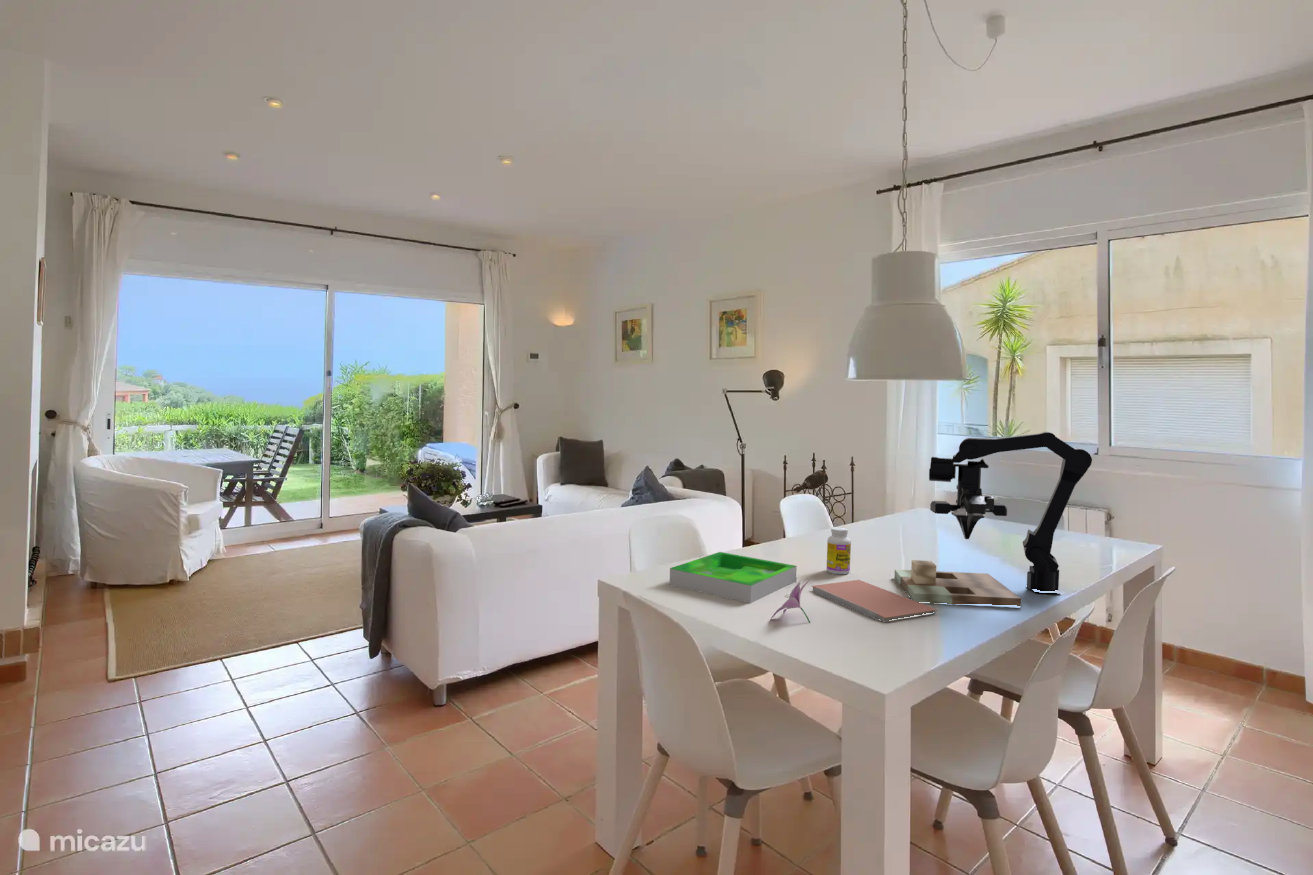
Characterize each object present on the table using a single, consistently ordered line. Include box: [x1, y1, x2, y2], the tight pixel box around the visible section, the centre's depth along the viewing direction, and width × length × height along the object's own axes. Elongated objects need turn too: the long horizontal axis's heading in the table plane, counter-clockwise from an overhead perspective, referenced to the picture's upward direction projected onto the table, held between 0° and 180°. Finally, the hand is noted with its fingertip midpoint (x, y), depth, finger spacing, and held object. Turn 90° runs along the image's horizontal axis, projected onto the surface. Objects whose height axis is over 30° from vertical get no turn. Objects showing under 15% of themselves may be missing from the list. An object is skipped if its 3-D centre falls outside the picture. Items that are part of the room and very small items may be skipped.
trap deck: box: [894, 568, 1022, 607], centre depth 177 cm, size 25×23×2 cm
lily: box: [769, 579, 811, 624], centre depth 154 cm, size 12×12×10 cm
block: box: [910, 559, 937, 584], centre depth 178 cm, size 5×5×5 cm
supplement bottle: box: [826, 526, 852, 575], centre depth 195 cm, size 7×7×13 cm
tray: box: [669, 551, 797, 604], centre depth 183 cm, size 25×25×5 cm
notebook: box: [811, 579, 938, 622], centre depth 168 cm, size 27×17×2 cm, turn 24°
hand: (966, 538), depth 187 cm, fingers closed
